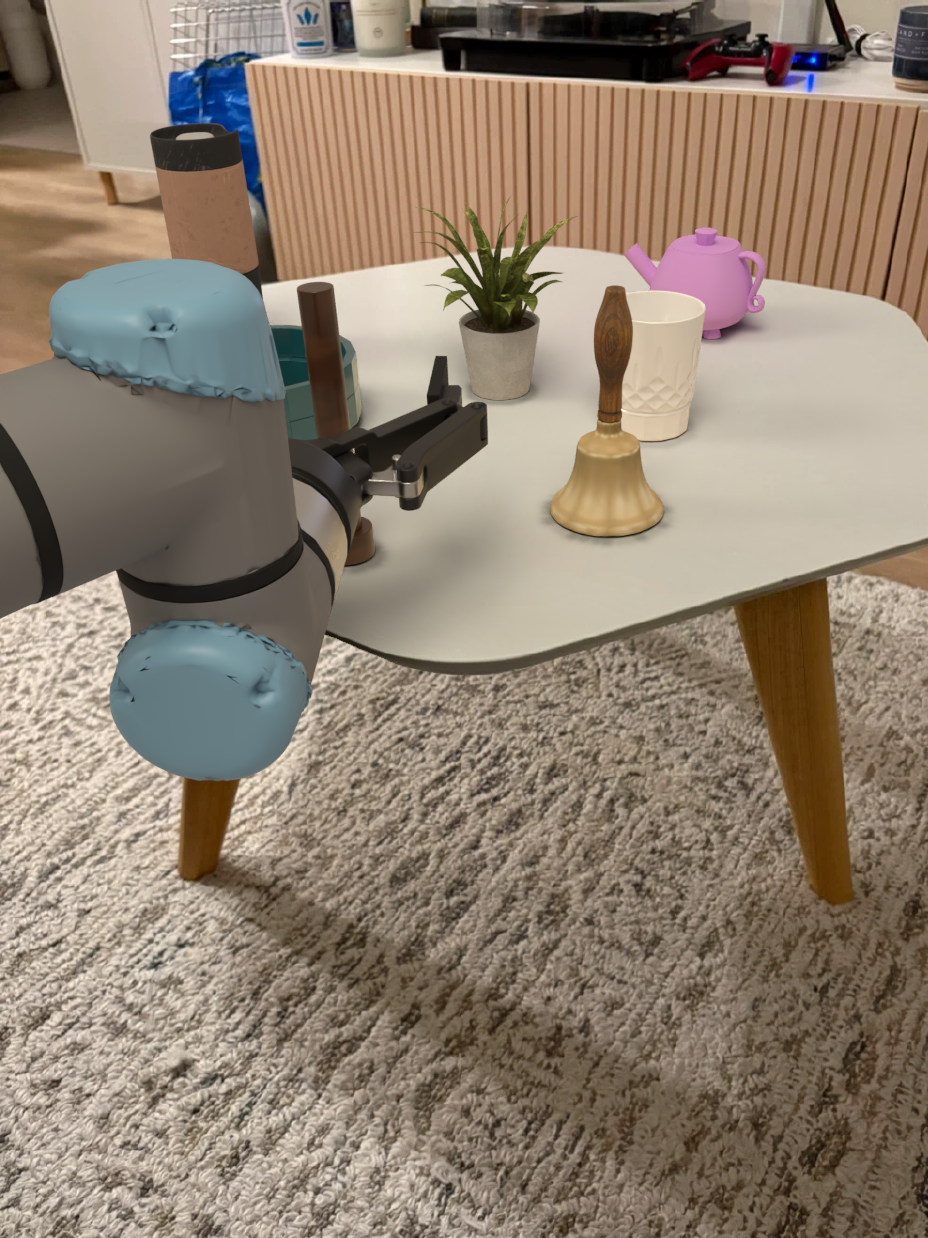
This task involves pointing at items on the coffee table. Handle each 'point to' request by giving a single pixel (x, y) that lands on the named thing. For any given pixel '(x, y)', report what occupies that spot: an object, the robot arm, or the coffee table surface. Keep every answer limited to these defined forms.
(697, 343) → the white cup
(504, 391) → the house plant
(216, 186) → the travel mug
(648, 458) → the coffee table surface
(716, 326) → the teapot
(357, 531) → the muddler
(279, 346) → the bowl
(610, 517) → the hand bell
